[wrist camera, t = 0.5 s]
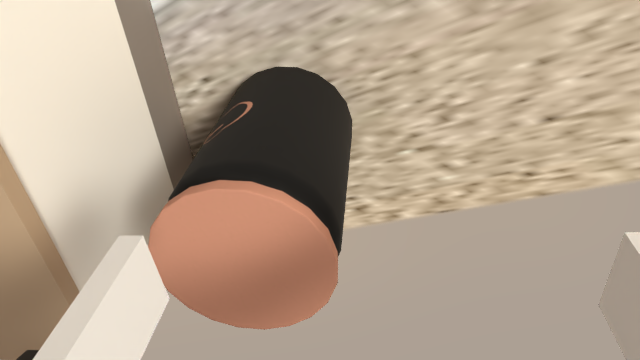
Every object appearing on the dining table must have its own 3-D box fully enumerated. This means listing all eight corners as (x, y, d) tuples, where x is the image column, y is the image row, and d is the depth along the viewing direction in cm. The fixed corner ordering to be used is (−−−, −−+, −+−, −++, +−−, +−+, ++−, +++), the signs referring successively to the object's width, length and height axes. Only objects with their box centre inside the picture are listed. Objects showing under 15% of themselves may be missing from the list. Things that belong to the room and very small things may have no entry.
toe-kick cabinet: (-49, -42, 35) (-428, 34, 18) (140, -57, 33) (-95, 14, 16) (59, 183, 47) (-115, 353, 30) (204, 182, 45) (103, 364, 28)
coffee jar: (258, 37, 36) (176, 153, 21) (376, 98, 38) (375, 244, 23) (216, 140, 42) (127, 288, 27) (319, 188, 44) (290, 351, 29)
